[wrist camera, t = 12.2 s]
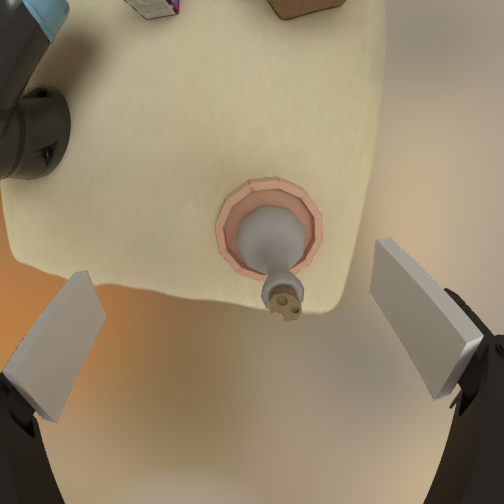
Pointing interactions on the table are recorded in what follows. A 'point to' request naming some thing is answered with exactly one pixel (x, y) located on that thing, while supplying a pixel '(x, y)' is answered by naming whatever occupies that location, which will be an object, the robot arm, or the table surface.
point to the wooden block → (301, 6)
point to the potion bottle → (274, 256)
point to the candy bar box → (155, 7)
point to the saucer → (273, 195)
